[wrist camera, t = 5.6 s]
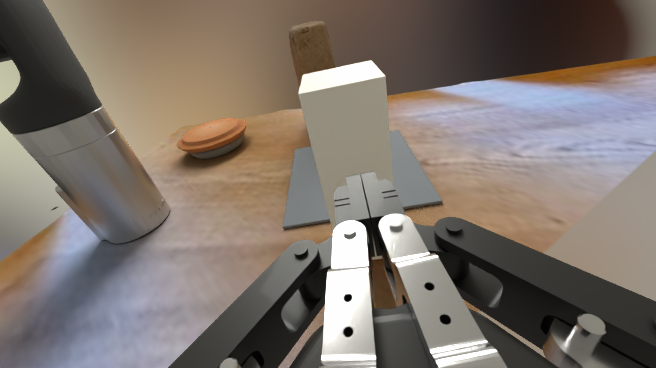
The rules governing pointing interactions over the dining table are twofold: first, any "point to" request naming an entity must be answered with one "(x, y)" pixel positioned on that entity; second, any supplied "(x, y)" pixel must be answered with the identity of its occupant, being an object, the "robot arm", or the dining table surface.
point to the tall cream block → (347, 125)
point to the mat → (309, 198)
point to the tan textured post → (310, 48)
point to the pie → (213, 138)
